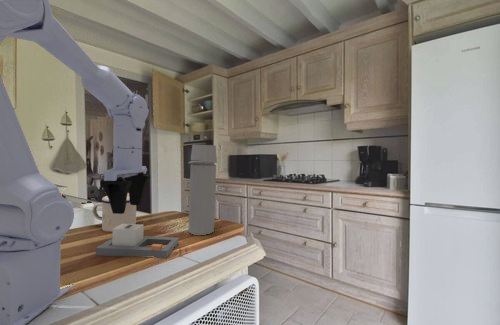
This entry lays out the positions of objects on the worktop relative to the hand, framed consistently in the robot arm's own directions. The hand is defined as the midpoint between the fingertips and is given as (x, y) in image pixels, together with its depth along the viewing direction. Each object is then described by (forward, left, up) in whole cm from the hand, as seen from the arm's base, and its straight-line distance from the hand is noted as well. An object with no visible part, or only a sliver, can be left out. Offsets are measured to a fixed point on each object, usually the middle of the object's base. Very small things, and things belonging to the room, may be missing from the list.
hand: (127, 208), depth 53 cm
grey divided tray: (0, -3, -10) cm, 11 cm away
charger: (0, 0, -9) cm, 9 cm away
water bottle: (+14, -14, -10) cm, 22 cm away
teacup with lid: (+15, +12, -10) cm, 21 cm away
